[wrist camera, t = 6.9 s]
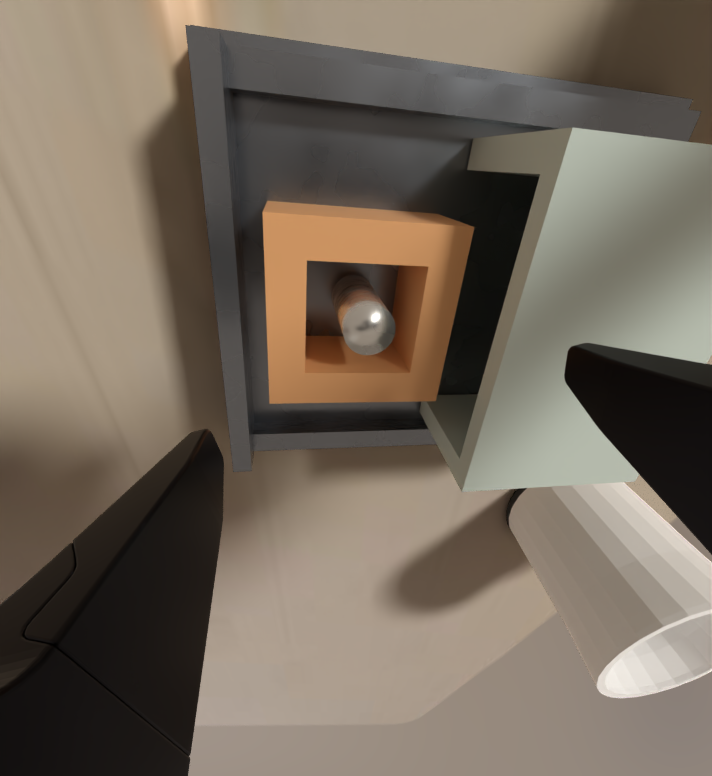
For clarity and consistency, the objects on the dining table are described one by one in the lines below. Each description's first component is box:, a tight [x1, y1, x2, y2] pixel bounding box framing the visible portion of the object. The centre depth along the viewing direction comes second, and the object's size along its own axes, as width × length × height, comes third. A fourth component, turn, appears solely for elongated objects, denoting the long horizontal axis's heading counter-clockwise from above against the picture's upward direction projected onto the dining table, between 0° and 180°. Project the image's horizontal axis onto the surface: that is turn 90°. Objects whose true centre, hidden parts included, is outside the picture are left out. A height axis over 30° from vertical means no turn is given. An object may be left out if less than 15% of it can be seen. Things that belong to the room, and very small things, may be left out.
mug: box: [507, 482, 712, 698], centre depth 24 cm, size 11×9×10 cm
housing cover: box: [419, 127, 712, 492], centre depth 15 cm, size 8×12×6 cm, turn 175°
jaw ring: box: [262, 201, 474, 404], centre depth 15 cm, size 7×7×4 cm
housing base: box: [186, 25, 701, 472], centre depth 16 cm, size 18×16×5 cm
